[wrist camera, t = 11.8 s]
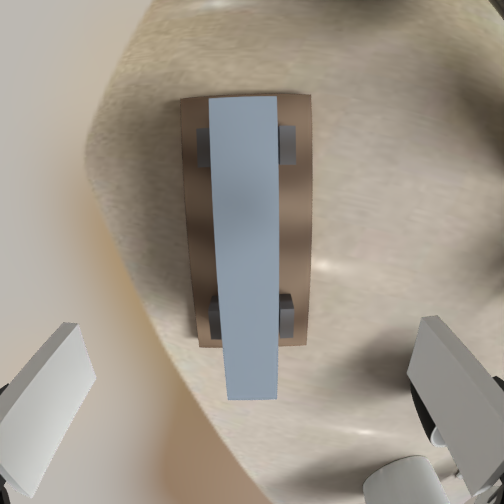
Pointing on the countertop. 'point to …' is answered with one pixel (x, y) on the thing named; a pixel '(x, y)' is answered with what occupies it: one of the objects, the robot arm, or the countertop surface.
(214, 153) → the door panel
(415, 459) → the utensil holder
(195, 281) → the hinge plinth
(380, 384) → the countertop surface
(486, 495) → the wineglass
